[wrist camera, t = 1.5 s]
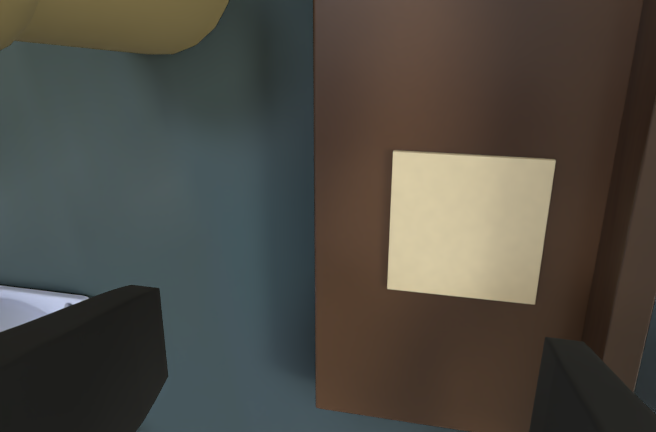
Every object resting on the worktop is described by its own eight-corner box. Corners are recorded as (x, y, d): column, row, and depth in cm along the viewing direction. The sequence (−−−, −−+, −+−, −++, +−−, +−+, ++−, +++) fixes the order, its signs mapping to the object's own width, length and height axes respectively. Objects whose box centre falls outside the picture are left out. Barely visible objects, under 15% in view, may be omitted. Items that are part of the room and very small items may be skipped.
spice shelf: (323, 385, 23) (297, 455, 20) (323, -114, 17) (284, -146, 13) (583, 422, 21) (607, 509, 18) (691, -129, 15) (764, -172, 11)
